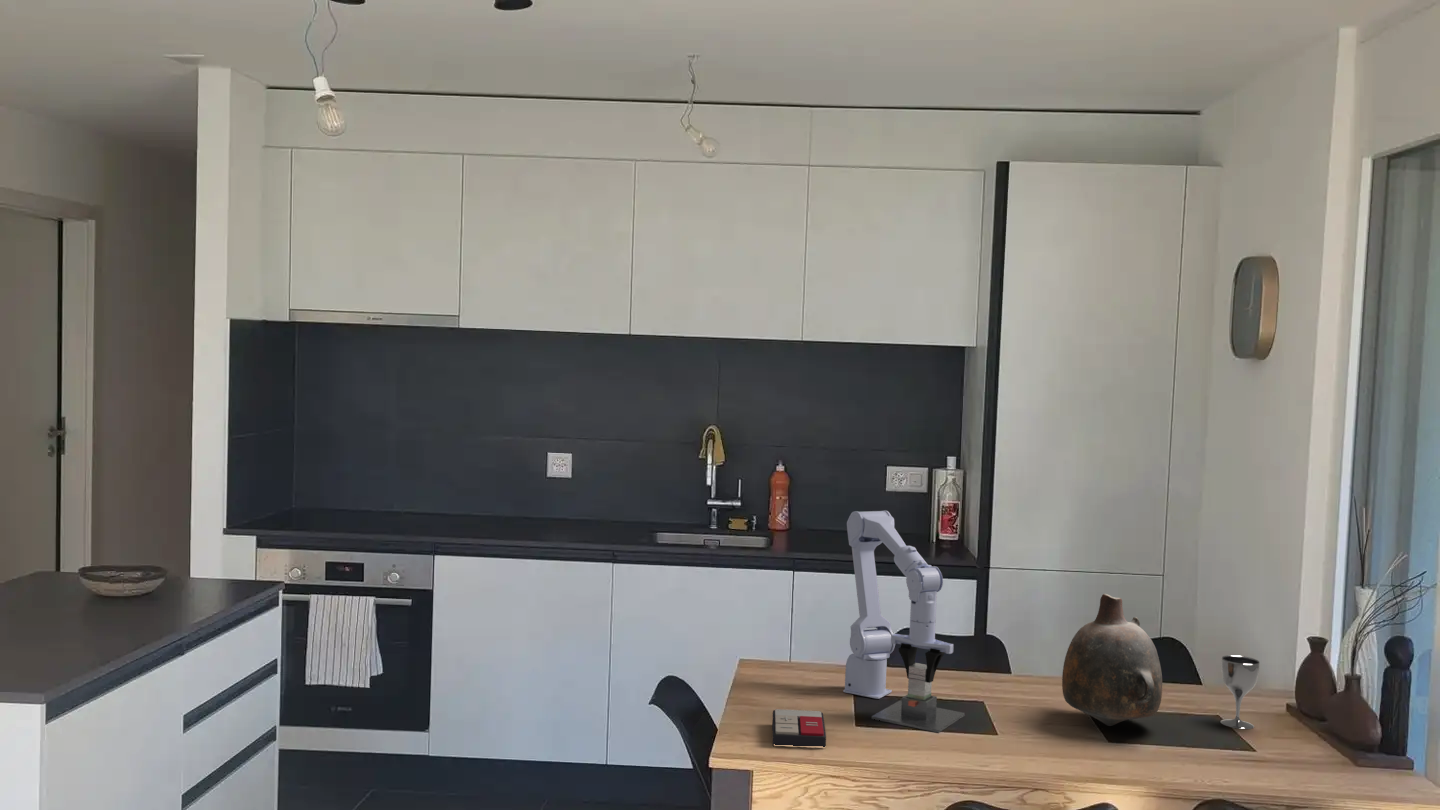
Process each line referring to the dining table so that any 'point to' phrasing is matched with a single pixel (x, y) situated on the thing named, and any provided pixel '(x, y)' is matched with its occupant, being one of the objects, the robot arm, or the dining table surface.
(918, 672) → the column
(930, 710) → the stand
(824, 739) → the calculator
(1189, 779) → the dining table surface
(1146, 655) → the jug
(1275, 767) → the dining table surface
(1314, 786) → the dining table surface
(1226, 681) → the silver goblet
